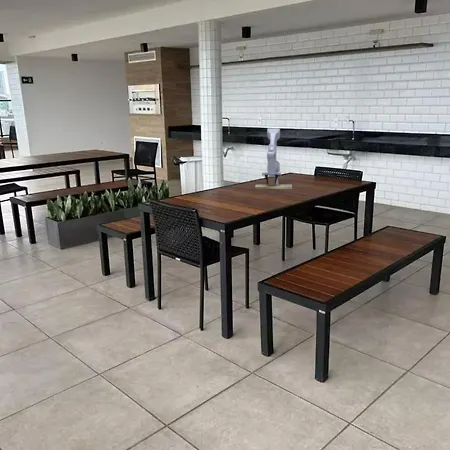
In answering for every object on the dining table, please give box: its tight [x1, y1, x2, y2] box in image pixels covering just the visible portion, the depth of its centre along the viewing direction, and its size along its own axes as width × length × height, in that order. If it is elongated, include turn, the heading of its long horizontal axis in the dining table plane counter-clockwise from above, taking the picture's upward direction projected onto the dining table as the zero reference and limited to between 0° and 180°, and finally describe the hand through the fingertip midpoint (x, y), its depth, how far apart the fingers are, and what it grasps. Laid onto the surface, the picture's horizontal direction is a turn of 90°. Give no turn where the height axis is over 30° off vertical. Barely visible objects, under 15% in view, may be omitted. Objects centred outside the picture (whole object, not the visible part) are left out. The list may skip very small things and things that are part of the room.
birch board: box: [254, 184, 293, 190], centre depth 368 cm, size 10×28×2 cm, turn 84°
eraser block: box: [268, 176, 275, 186], centre depth 367 cm, size 7×5×6 cm
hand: (271, 184), depth 367 cm, fingers closed on eraser block, 5 cm apart
